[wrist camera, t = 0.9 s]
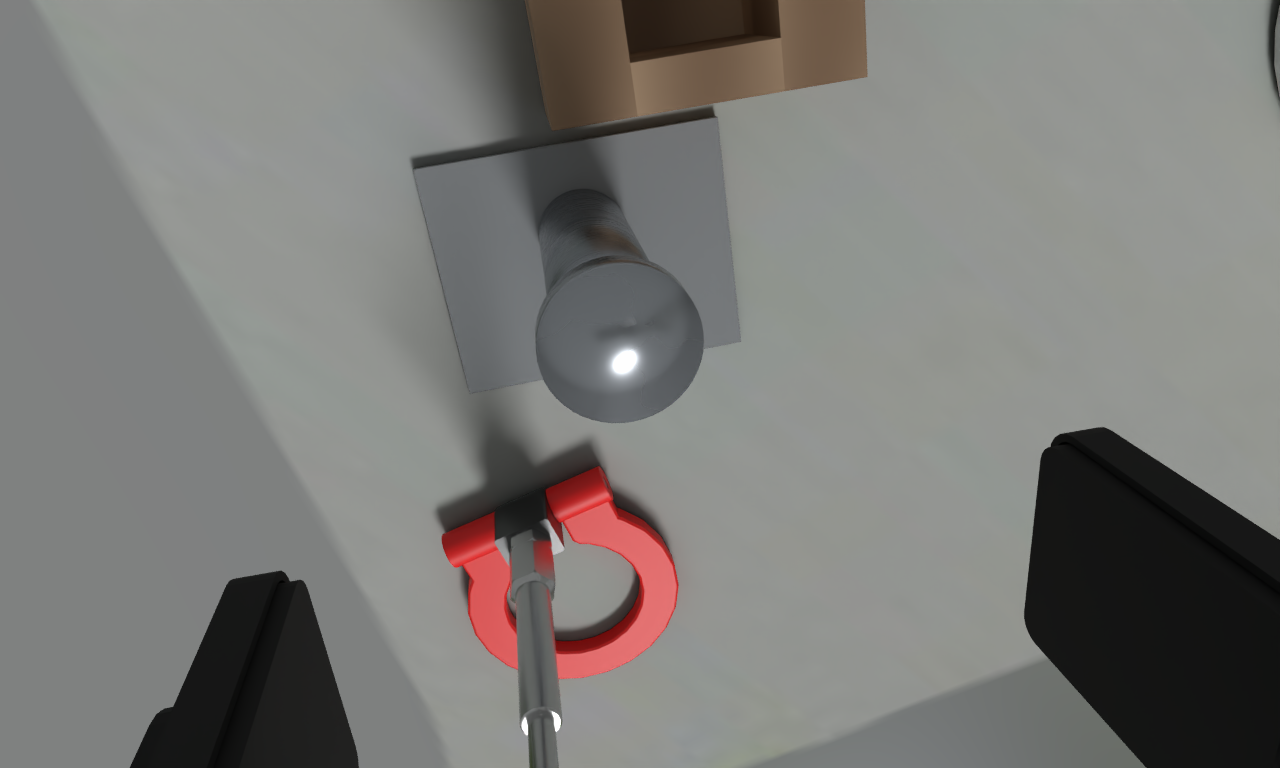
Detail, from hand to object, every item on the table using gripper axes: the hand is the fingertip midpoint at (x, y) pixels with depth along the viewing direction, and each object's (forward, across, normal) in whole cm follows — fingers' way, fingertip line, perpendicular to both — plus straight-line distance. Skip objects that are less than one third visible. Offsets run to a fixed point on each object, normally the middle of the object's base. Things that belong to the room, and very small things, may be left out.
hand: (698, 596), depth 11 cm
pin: (+20, -1, 0) cm, 20 cm away
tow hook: (+21, +1, +14) cm, 25 cm away
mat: (+20, -1, +1) cm, 21 cm away
